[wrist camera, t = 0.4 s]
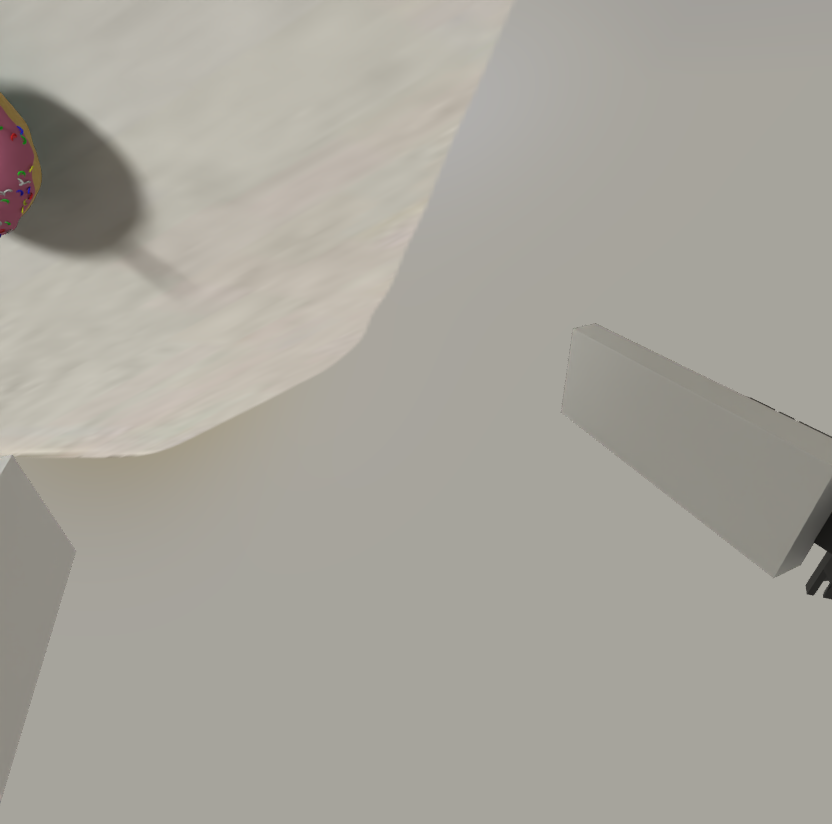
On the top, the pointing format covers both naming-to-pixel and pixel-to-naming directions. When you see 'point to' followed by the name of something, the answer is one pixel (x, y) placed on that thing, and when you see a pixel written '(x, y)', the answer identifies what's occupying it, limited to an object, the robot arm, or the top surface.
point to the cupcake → (16, 167)
